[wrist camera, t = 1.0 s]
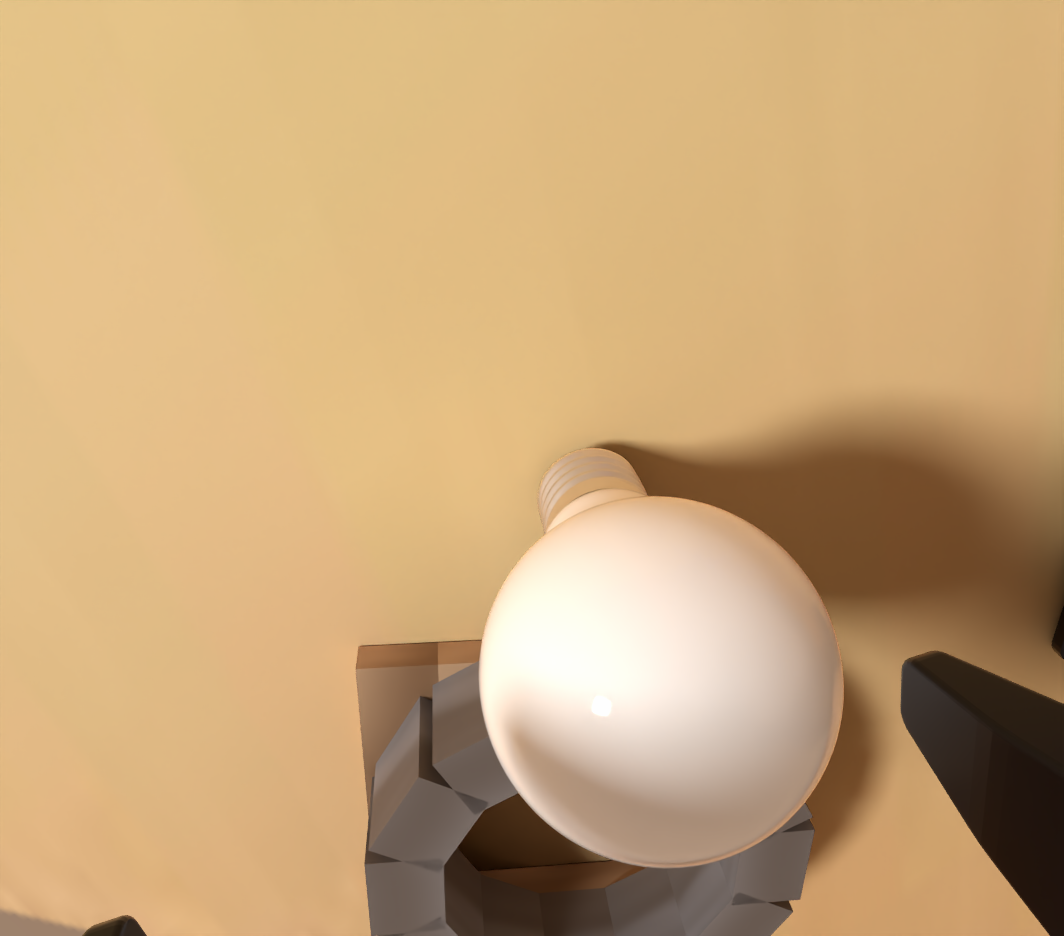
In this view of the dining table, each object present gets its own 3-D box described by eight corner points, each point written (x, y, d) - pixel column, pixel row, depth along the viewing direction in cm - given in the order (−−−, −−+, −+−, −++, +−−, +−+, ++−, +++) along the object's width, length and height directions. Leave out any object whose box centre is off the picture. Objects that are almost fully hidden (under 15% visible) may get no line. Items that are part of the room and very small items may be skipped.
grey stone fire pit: (790, 601, 25) (851, 691, 21) (741, 891, 30) (783, 1004, 26) (356, 622, 23) (342, 722, 20) (382, 921, 28) (374, 1044, 25)
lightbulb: (644, 324, 21) (841, 551, 11) (737, 521, 23) (964, 852, 13) (418, 444, 21) (405, 762, 11) (533, 623, 24) (605, 1008, 14)
